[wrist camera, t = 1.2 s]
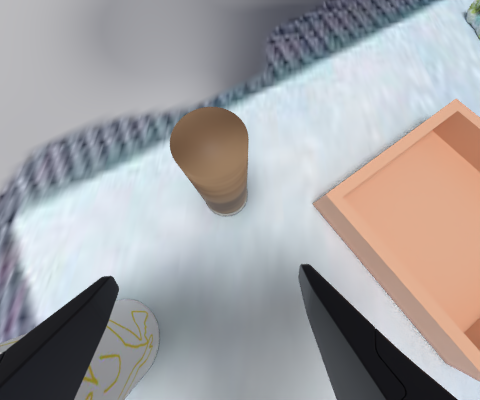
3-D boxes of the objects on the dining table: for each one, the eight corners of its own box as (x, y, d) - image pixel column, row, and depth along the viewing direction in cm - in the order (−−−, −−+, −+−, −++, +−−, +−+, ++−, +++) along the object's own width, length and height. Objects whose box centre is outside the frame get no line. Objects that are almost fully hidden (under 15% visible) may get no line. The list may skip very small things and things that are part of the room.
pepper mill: (255, 200, 24) (266, 148, 12) (220, 224, 24) (195, 194, 12) (231, 168, 25) (220, 92, 13) (198, 191, 25) (153, 132, 13)
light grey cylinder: (172, 358, 20) (73, 501, 8) (96, 407, 19) (-129, 642, 8) (141, 284, 22) (27, 319, 10) (72, 325, 21) (-138, 412, 10)
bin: (565, 243, 22) (633, 241, 18) (446, 363, 19) (495, 390, 16) (425, 120, 27) (456, 98, 23) (312, 203, 24) (325, 194, 20)
